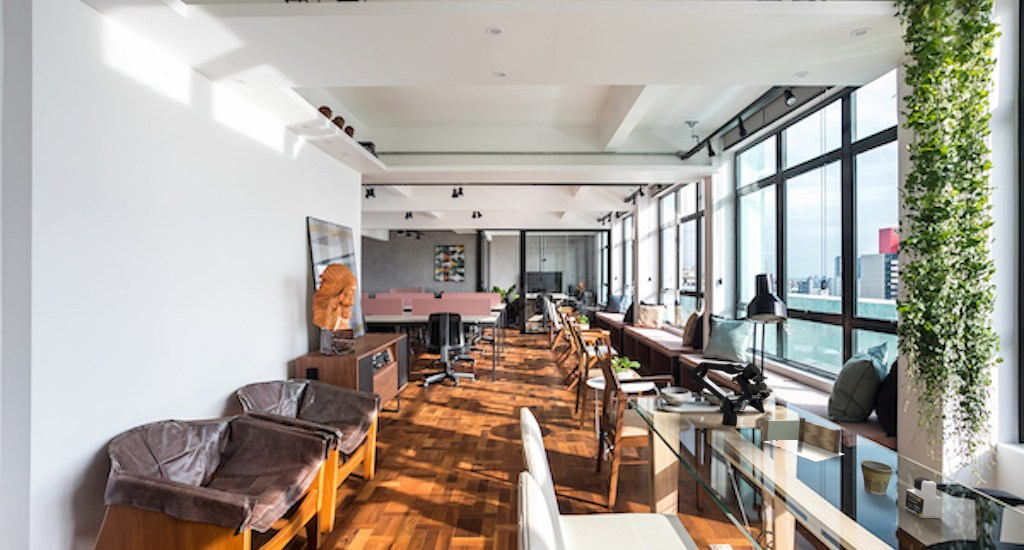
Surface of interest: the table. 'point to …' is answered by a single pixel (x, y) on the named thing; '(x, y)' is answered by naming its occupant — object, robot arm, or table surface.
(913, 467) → the table surface
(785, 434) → the folding panel
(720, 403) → the tin
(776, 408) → the table surface
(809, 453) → the card
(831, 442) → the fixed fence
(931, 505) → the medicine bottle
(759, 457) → the table surface
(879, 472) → the ceramic cup
